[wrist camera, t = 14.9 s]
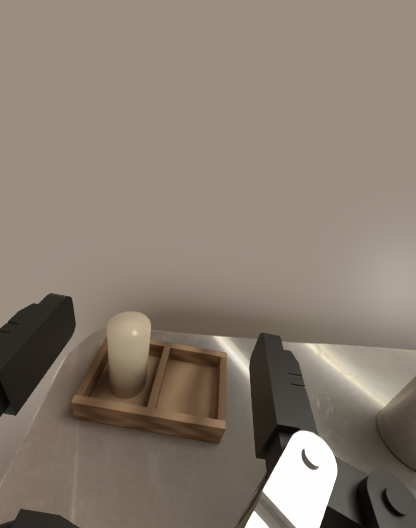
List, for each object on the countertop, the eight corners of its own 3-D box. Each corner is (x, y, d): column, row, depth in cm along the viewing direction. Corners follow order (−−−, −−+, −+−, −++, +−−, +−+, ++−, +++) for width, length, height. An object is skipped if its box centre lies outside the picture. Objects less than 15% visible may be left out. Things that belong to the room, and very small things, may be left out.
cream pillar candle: (150, 368, 41) (155, 315, 34) (140, 401, 36) (143, 346, 30) (118, 363, 41) (116, 308, 34) (103, 395, 36) (99, 338, 30)
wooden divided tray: (221, 367, 44) (226, 352, 42) (219, 443, 34) (225, 429, 32) (110, 347, 44) (109, 331, 42) (74, 418, 34) (70, 402, 32)
